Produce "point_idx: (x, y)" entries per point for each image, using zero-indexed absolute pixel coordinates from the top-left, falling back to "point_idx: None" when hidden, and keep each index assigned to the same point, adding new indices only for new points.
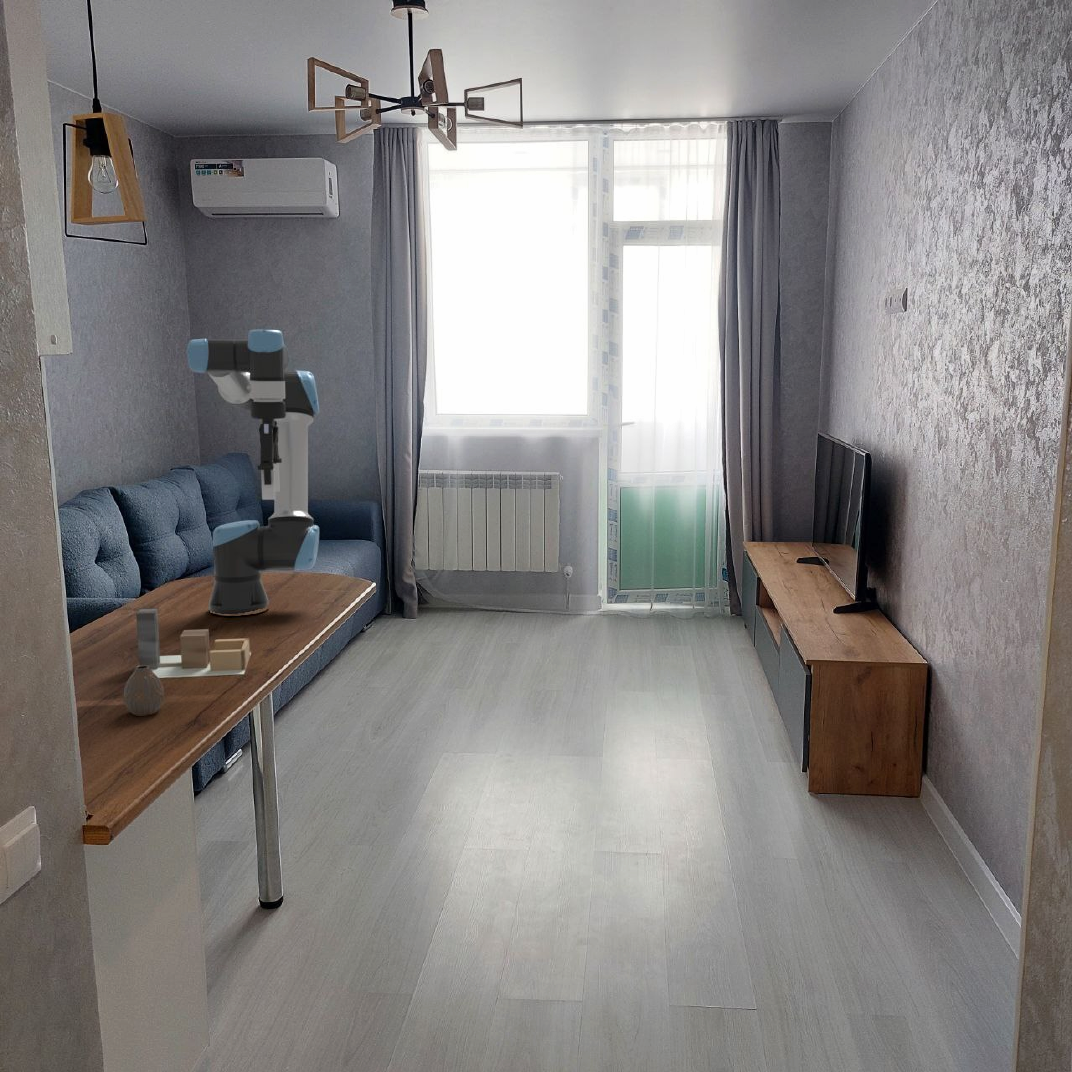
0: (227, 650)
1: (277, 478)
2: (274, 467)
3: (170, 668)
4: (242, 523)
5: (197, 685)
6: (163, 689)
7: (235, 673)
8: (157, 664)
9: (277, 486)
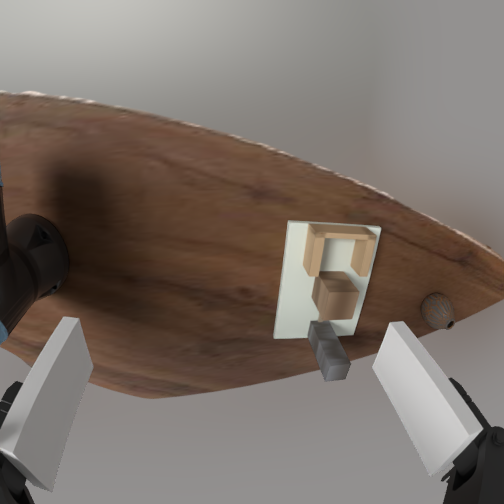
0: (366, 256)
1: (53, 378)
2: (35, 447)
3: None
4: None
5: (381, 272)
6: (443, 298)
7: (376, 237)
8: (327, 322)
9: (71, 345)
